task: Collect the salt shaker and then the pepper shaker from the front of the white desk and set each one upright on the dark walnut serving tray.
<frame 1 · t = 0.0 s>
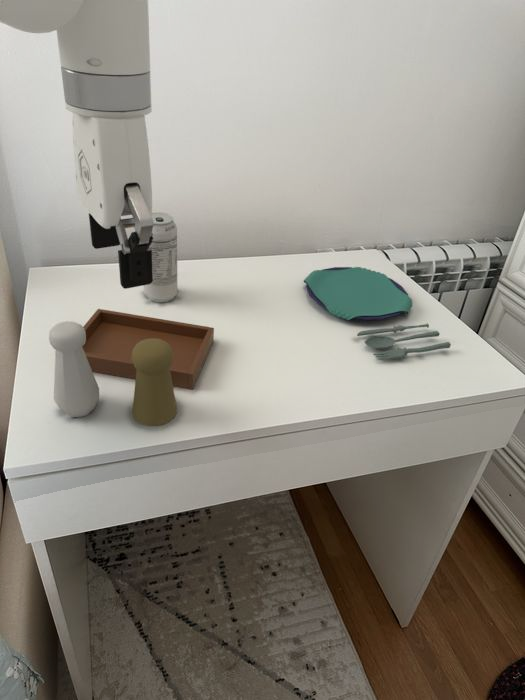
hand: (121, 264, 57), 23 cm above the table, tool pointing down, fingers open, 9 cm apart
tray: (142, 353, 83), on the table
energy drink can: (161, 296, 98), on the table
pepper shaker: (154, 411, 73), on the table
cutlery set: (367, 313, 100), on the table
salt shaker: (79, 408, 73), on the table
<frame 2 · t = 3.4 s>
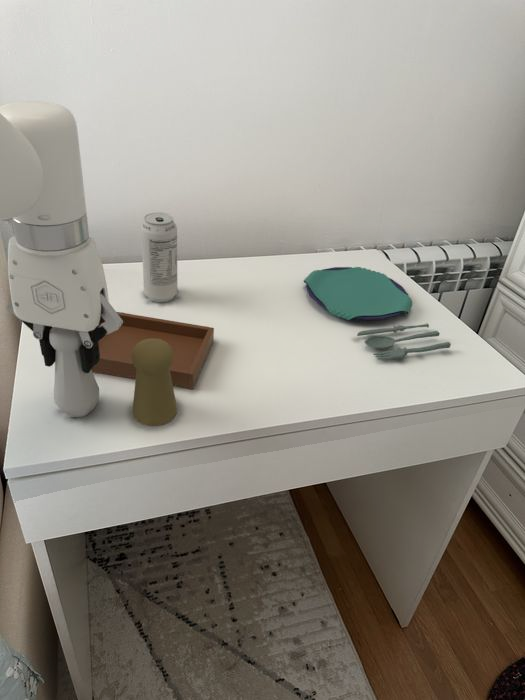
hand: (72, 362, 68), 8 cm above the table, tool pointing down, fingers closed on salt shaker, 4 cm apart
salt shaker: (78, 408, 73), on the table, touching gripper
everything else where it was.
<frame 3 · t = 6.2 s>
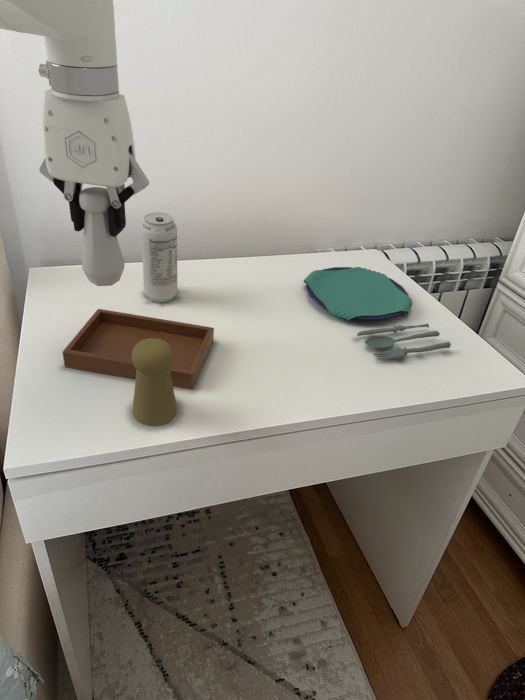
hand: (99, 228, 72), 20 cm above the table, tool pointing down, fingers closed on salt shaker, 4 cm apart
salt shaker: (104, 280, 76), point 12 cm above the table, touching gripper
everything else where it was.
when the fingers open (9 cm above the table, at t = 9.2 s): salt shaker stays where it is, resting on tray.
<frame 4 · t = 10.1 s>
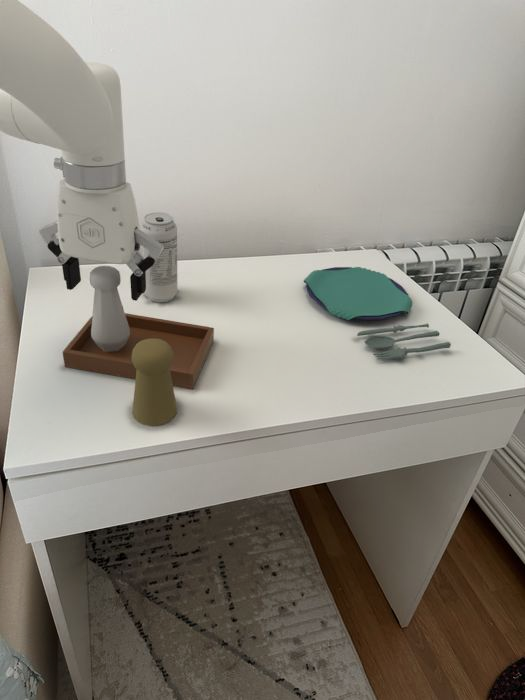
hand: (105, 290, 78), 10 cm above the table, tool pointing down, fingers open, 9 cm apart
salt shaker: (111, 345, 83), point 1 cm above the table, touching tray
everything else where it was.
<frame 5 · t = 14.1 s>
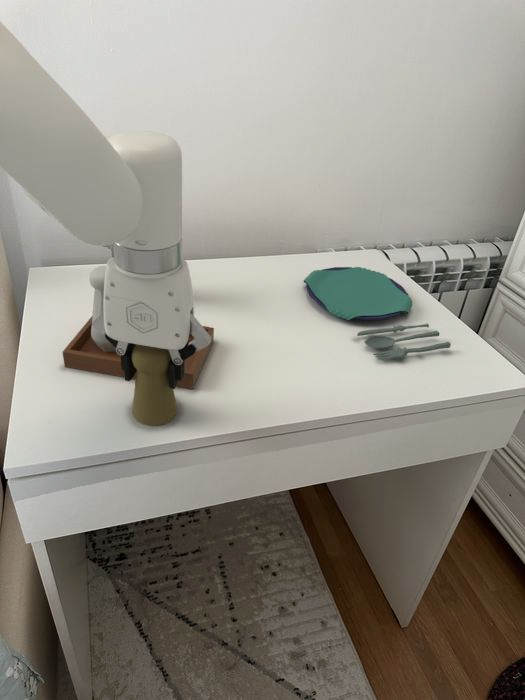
hand: (153, 377, 70), 6 cm above the table, tool pointing down, fingers closed on pepper shaker, 5 cm apart
pepper shaker: (154, 411, 73), on the table, touching gripper
everything else where it was.
when the fingers open (7 cm above the table, at t = 19.8 s): pepper shaker stays where it is, resting on tray.
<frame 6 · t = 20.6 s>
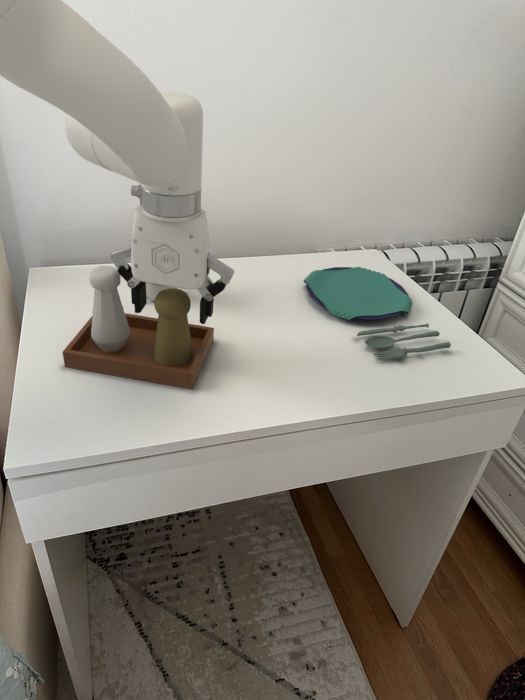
hand: (172, 313, 78), 8 cm above the table, tool pointing down, fingers open, 9 cm apart
pepper shaker: (173, 356, 83), point 1 cm above the table, touching tray
everything else where it was.
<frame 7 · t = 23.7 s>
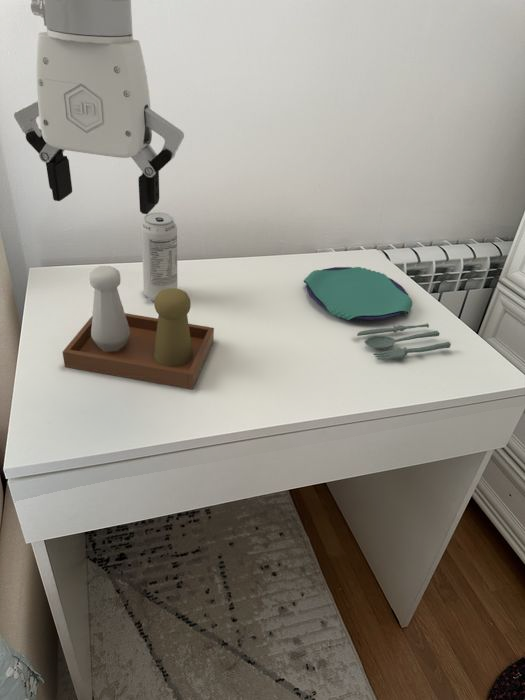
hand: (105, 203, 58), 28 cm above the table, tool pointing down, fingers open, 9 cm apart
nothing on the table moved.
at the end: salt shaker inside the target area in the tray (5.0 cm from its centre), point 0.6 cm above the tray's base; pepper shaker inside the target area in the tray (4.9 cm from its centre), point 0.6 cm above the tray's base; salt shaker tilted 0° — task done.
